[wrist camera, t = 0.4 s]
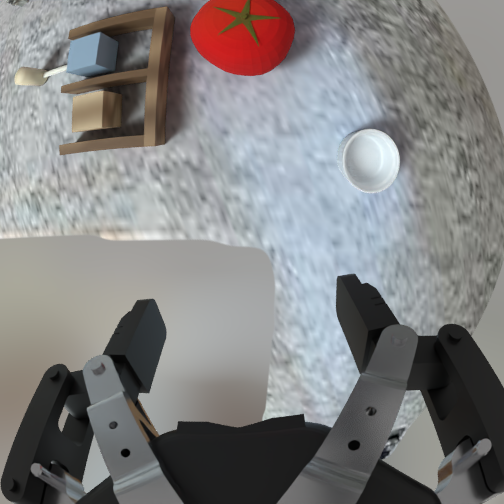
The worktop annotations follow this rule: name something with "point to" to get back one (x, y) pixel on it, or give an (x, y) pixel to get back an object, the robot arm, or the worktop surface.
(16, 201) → the worktop surface
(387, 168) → the ramekin
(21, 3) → the egg carton
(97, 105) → the plain oak block
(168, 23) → the lane rack
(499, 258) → the worktop surface
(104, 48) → the tethered block
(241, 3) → the tomato
